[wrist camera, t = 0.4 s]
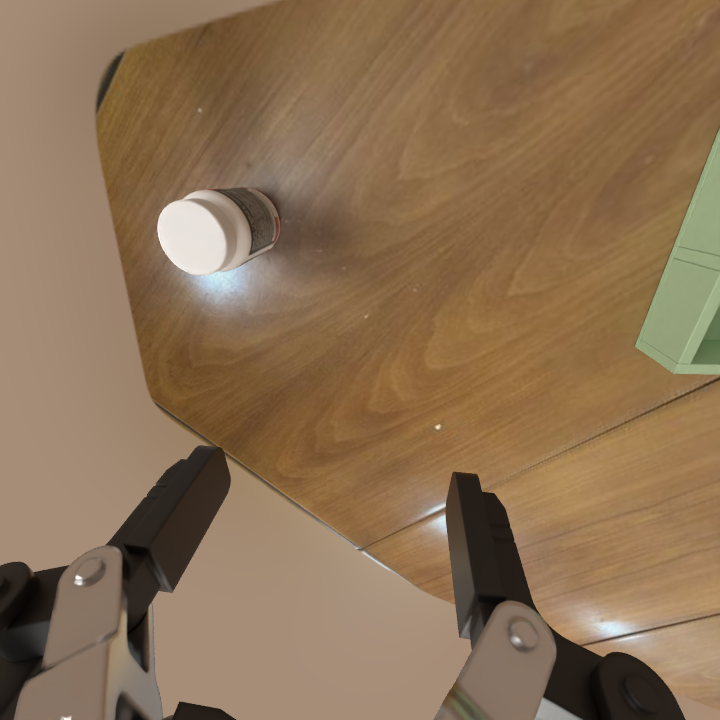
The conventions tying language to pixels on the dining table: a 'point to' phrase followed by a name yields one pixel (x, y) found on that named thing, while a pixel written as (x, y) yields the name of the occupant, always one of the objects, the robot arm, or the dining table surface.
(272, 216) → the pill bottle
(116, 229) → the dining table surface
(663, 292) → the holder
